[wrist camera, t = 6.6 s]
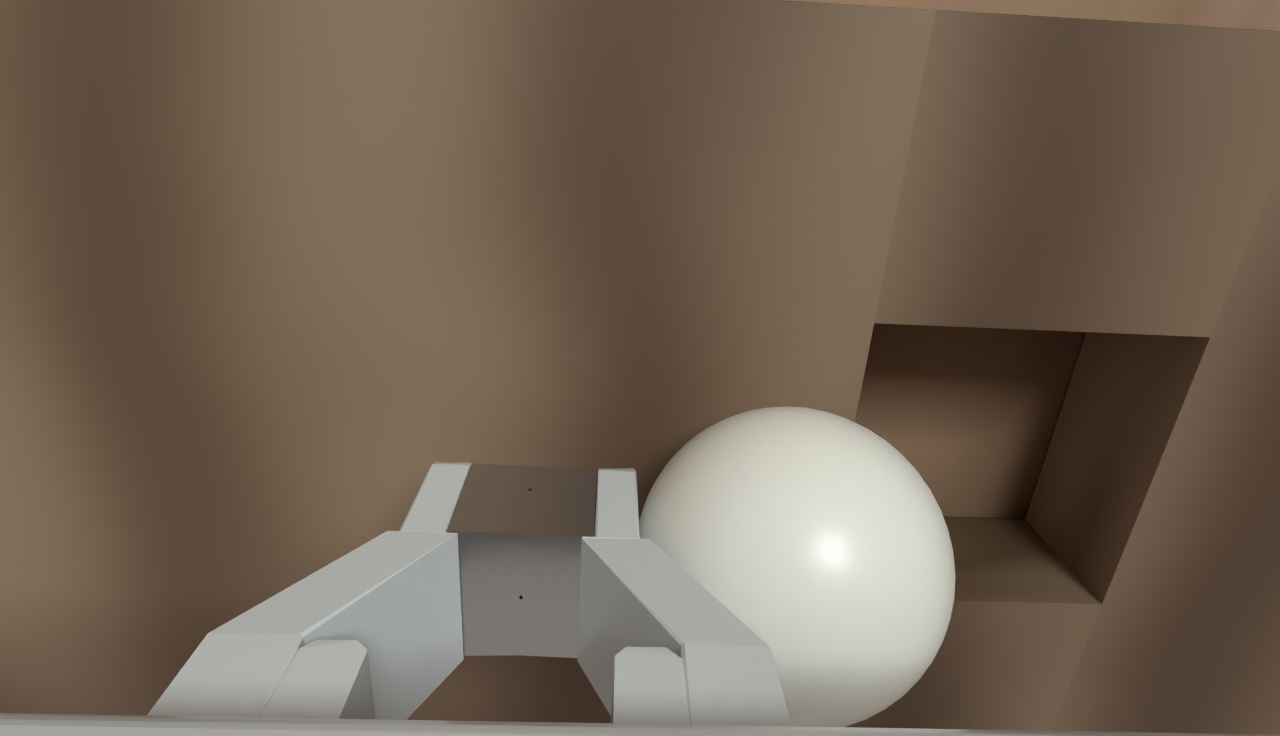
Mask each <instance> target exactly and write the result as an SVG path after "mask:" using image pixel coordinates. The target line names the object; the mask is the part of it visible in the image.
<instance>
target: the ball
mask: <svg viewBox="0 0 1280 736" xmlns="http://www.w3.org/2000/svg"><path fill="white" fill-rule="evenodd" d="M639 534H640V539H651V540H652V541H653V542H654V543H655V544H657V545H658V546H659V547H660V548H661V549H662V550H663V551H664V552H665V553H666V554H668V555H669V556H670V557H671V558H672V559H673V560H674V561H675V562H676V563H678V564H679V565H680V566H681V567H682V568H683V569H684V570H685V571H686V572H688V573H689V574H690V575H691V576H692V577H693V578H694V579H695V580H696V581H697V582H699V583H700V584H701V585H702V586H703V587H704V588H705V589H706V590H707V591H709V592H710V593H711V594H712V595H713V596H714V597H715V598H716V599H717V600H718V601H720V602H721V603H722V604H723V605H724V606H725V607H726V608H727V609H728V610H730V611H731V612H732V613H733V614H734V615H735V616H736V617H737V618H738V619H740V620H741V621H742V622H743V623H744V624H745V625H746V626H747V627H748V628H749V629H751V630H752V631H753V632H754V633H755V634H756V635H757V636H758V637H759V638H761V639H762V640H763V641H764V642H765V643H766V644H767V645H768V646H769V647H771V651H772V655H773V658H774V662H775V666H776V669H777V673H778V677H779V680H780V684H781V688H782V691H783V695H784V699H785V702H786V706H787V710H788V714H789V717H790V721H791V725H792V726H801V727H846V726H849V725H852V724H854V723H857V722H860V721H863V720H866V719H868V718H869V717H871V716H873V715H875V714H877V713H879V712H881V711H883V710H885V709H886V708H888V707H889V706H890V705H892V704H893V703H894V702H896V701H897V700H898V699H900V698H901V697H903V696H904V695H905V694H906V693H907V692H908V691H909V690H910V689H911V688H912V687H913V686H914V685H915V684H916V683H917V682H918V681H919V679H920V678H921V677H922V675H923V674H924V673H925V671H926V670H927V668H928V667H929V666H930V664H931V663H932V662H933V660H934V658H935V656H936V654H937V652H938V650H939V648H940V646H941V644H942V642H943V640H944V637H945V634H946V631H947V628H948V625H949V622H950V618H951V613H952V608H953V603H954V596H955V577H956V575H955V564H954V553H953V548H952V544H951V540H950V535H949V531H948V528H947V525H946V523H945V520H944V517H943V515H942V512H941V509H940V507H939V505H938V503H937V502H936V500H935V498H934V496H933V494H932V492H931V490H930V489H929V487H928V486H927V484H926V483H925V481H924V480H923V479H922V477H921V476H920V474H919V473H918V471H917V470H916V469H915V468H914V467H913V466H912V465H911V464H910V463H909V461H908V460H907V459H906V458H905V457H904V456H903V455H902V454H901V453H900V452H899V451H897V450H896V449H895V448H894V447H893V446H892V445H890V444H889V443H888V442H887V441H886V440H884V439H883V438H881V437H880V436H878V435H877V434H875V433H874V432H872V431H870V430H869V429H867V428H865V427H863V426H861V425H859V424H857V423H855V422H853V421H851V420H849V419H847V418H844V417H841V416H838V415H835V414H832V413H829V412H826V411H821V410H816V409H811V408H804V407H790V406H783V407H768V408H761V409H756V410H751V411H746V412H742V413H740V414H737V415H734V416H731V417H728V418H726V419H724V420H722V421H720V422H718V423H716V424H714V425H712V426H710V427H708V428H706V429H705V430H703V431H702V432H701V433H699V434H698V435H696V436H695V437H694V438H692V439H691V440H690V441H688V442H687V443H686V444H685V445H684V446H683V447H682V448H681V449H680V450H679V451H678V452H677V453H676V454H675V455H674V456H673V457H672V458H671V459H670V461H669V462H668V463H667V464H666V466H665V467H664V469H663V470H662V472H661V473H660V475H659V476H658V478H657V479H656V481H655V483H654V484H653V486H652V488H651V490H650V492H649V494H648V497H647V499H646V502H645V504H644V507H643V510H642V513H641V517H640V520H639Z"/></svg>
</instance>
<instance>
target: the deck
mask: <svg viewBox="0 0 1280 736" xmlns="http://www.w3.org/2000/svg"><path fill="white" fill-rule="evenodd" d="M874 323H880V324H904V325H928V326H952V327H976V328H1000V329H1024V330H1048V331H1072V332H1086V335H1085V338H1084V341H1083V344H1082V347H1081V350H1080V353H1079V356H1078V359H1077V362H1076V365H1075V368H1074V371H1073V374H1072V378H1071V381H1070V384H1069V387H1068V390H1067V393H1066V396H1065V399H1064V402H1063V405H1062V408H1061V411H1060V414H1059V417H1058V420H1057V423H1056V426H1055V429H1054V432H1053V435H1052V438H1051V442H1050V445H1049V448H1048V451H1047V454H1046V457H1045V460H1044V463H1043V466H1042V469H1041V472H1040V475H1039V478H1038V481H1037V484H1036V487H1035V490H1034V493H1033V496H1032V499H1031V503H1030V506H1029V509H1028V512H1027V515H1026V518H1025V519H1006V518H972V517H944V520H945V523H946V525H947V528H948V531H949V535H950V540H951V544H952V548H953V553H954V564H955V575H956V577H955V596H954V603H953V608H952V613H951V618H950V622H949V625H948V628H947V631H946V634H945V637H944V640H943V642H942V644H941V646H940V648H939V650H938V652H937V654H936V656H935V658H934V660H933V662H932V663H931V664H930V666H929V667H928V668H927V670H926V671H925V673H924V674H923V675H922V677H921V678H920V679H919V681H918V682H917V683H916V684H915V685H914V686H913V687H912V688H911V689H910V690H909V691H908V692H907V693H906V694H905V695H904V696H903V697H901V698H900V699H898V700H897V701H896V702H894V703H893V704H892V705H890V706H889V707H888V708H886V709H885V710H883V711H881V712H879V713H877V714H875V715H873V716H871V717H869V718H868V719H866V720H863V721H860V722H857V723H854V724H852V725H849V726H846V727H859V728H917V729H983V730H1042V731H1101V732H1160V733H1219V734H1278V735H1280V31H1272V30H1256V29H1239V28H1223V27H1207V26H1190V25H1174V24H1158V23H1142V22H1125V21H1109V20H1093V19H1076V18H1060V17H1044V16H1028V15H1011V14H995V13H979V12H962V11H946V10H930V9H913V8H897V7H881V6H865V5H848V4H832V3H816V2H799V1H783V0H0V713H37V714H95V715H147V714H148V713H149V712H150V710H151V709H152V708H153V706H154V705H155V704H156V702H157V701H158V700H159V698H160V697H161V696H162V694H163V693H164V692H165V690H166V689H167V688H168V686H169V685H170V684H171V682H172V681H173V680H174V678H175V677H176V675H177V674H178V673H179V671H180V670H181V669H182V667H183V666H184V665H185V663H186V662H187V661H188V659H189V658H190V657H191V655H192V654H193V653H194V651H195V650H196V649H197V647H198V646H199V645H200V643H201V642H202V641H203V639H204V638H205V636H206V635H207V634H208V633H209V632H211V631H213V630H215V629H216V628H218V627H220V626H222V625H223V624H225V623H227V622H229V621H230V620H232V619H234V618H236V617H237V616H239V615H241V614H243V613H244V612H246V611H248V610H250V609H251V608H253V607H255V606H257V605H258V604H260V603H262V602H264V601H265V600H267V599H269V598H271V597H272V596H274V595H276V594H278V593H279V592H281V591H283V590H285V589H286V588H288V587H290V586H292V585H293V584H295V583H297V582H299V581H300V580H302V579H304V578H306V577H307V576H309V575H311V574H313V573H314V572H316V571H318V570H320V569H321V568H323V567H325V566H327V565H328V564H330V563H332V562H334V561H335V560H337V559H339V558H341V557H342V556H344V555H346V554H348V553H349V552H351V551H353V550H355V549H356V548H358V547H360V546H362V545H363V544H365V543H367V542H369V541H370V540H372V539H374V538H376V537H377V536H379V535H381V534H383V533H384V532H386V531H399V530H400V528H401V526H402V524H403V522H404V520H405V518H406V515H407V513H408V511H409V509H410V507H411V505H412V503H413V501H414V499H415V497H416V495H417V493H418V491H419V489H420V487H421V485H422V483H423V480H424V478H425V476H426V474H427V472H428V470H429V468H430V466H431V465H432V464H433V463H436V462H470V463H472V464H474V463H479V464H496V465H514V466H532V467H546V468H597V477H598V469H599V468H634V469H635V471H636V477H637V496H638V515H639V520H640V517H641V513H642V510H643V507H644V504H645V502H646V499H647V497H648V494H649V492H650V490H651V488H652V486H653V484H654V483H655V481H656V479H657V478H658V476H659V475H660V473H661V472H662V470H663V469H664V467H665V466H666V464H667V463H668V462H669V461H670V459H671V458H672V457H673V456H674V455H675V454H676V453H677V452H678V451H679V450H680V449H681V448H682V447H683V446H684V445H685V444H686V443H687V442H688V441H690V440H691V439H692V438H694V437H695V436H696V435H698V434H699V433H701V432H702V431H703V430H705V429H706V428H708V427H710V426H712V425H714V424H716V423H718V422H720V421H722V420H724V419H726V418H728V417H731V416H734V415H737V414H740V413H742V412H746V411H751V410H756V409H761V408H768V407H783V406H790V407H804V408H811V409H816V410H821V411H826V412H829V413H832V414H835V415H838V416H841V417H844V418H847V419H849V420H851V421H853V422H855V419H856V413H857V408H858V403H859V398H860V393H861V388H862V383H863V378H864V373H865V368H866V363H867V358H868V353H869V348H870V343H871V337H872V332H873V327H874ZM596 498H597V494H596ZM595 520H596V518H595ZM407 720H442V721H500V722H567V723H610V722H611V716H610V714H609V712H608V711H607V709H606V707H605V706H604V704H603V702H602V701H601V699H600V697H599V696H598V694H597V692H596V691H595V689H594V688H593V686H592V684H591V683H590V681H589V679H588V678H587V676H586V674H585V673H584V671H583V669H582V668H581V666H580V664H579V663H578V658H564V657H544V656H524V655H493V656H464V660H463V661H462V662H461V663H460V664H459V665H458V666H457V667H456V668H455V669H454V670H453V671H452V672H451V673H450V674H449V676H448V677H447V678H446V679H445V680H444V681H443V682H442V683H441V684H440V685H439V686H438V687H437V688H436V689H435V690H434V691H433V692H432V693H431V694H430V696H429V697H428V698H427V699H426V700H425V701H424V702H423V703H422V704H421V705H420V706H419V707H418V708H417V709H416V710H415V711H414V712H413V713H412V714H411V716H410V717H409V718H408V719H407Z"/></svg>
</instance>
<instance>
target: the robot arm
mask: <svg viewBox="0 0 1280 736" xmlns="http://www.w3.org/2000/svg"><path fill="white" fill-rule="evenodd" d="M596 494H597V498H596ZM595 518H596V520H595ZM493 655H524V656H544V657H564V658H578V663H579V664H580V666H581V668H582V669H583V671H584V673H585V674H586V676H587V678H588V679H589V681H590V683H591V684H592V686H593V688H594V689H595V691H596V692H597V694H598V696H599V697H600V699H601V701H602V702H603V704H604V706H605V707H606V709H607V711H608V712H609V714H610V716H611V722H610V723H567V722H500V721H442V720H407V719H408V718H409V717H410V716H411V714H412V713H413V712H414V711H415V710H416V709H417V708H418V707H419V706H420V705H421V704H422V703H423V702H424V701H425V700H426V699H427V698H428V697H429V696H430V694H431V693H432V692H433V691H434V690H435V689H436V688H437V687H438V686H439V685H440V684H441V683H442V682H443V681H444V680H445V679H446V678H447V677H448V676H449V674H450V673H451V672H452V671H453V670H454V669H455V668H456V667H457V666H458V665H459V664H460V663H461V662H462V661H463V660H464V656H493ZM0 736H1280V735H1278V734H1219V733H1160V732H1101V731H1042V730H983V729H917V728H859V727H801V726H792V725H791V721H790V717H789V714H788V710H787V706H786V702H785V699H784V695H783V691H782V688H781V684H780V680H779V677H778V673H777V669H776V666H775V662H774V658H773V655H772V651H771V647H769V646H768V645H767V644H766V643H765V642H764V641H763V640H762V639H761V638H759V637H758V636H757V635H756V634H755V633H754V632H753V631H752V630H751V629H749V628H748V627H747V626H746V625H745V624H744V623H743V622H742V621H741V620H740V619H738V618H737V617H736V616H735V615H734V614H733V613H732V612H731V611H730V610H728V609H727V608H726V607H725V606H724V605H723V604H722V603H721V602H720V601H718V600H717V599H716V598H715V597H714V596H713V595H712V594H711V593H710V592H709V591H707V590H706V589H705V588H704V587H703V586H702V585H701V584H700V583H699V582H697V581H696V580H695V579H694V578H693V577H692V576H691V575H690V574H689V573H688V572H686V571H685V570H684V569H683V568H682V567H681V566H680V565H679V564H678V563H676V562H675V561H674V560H673V559H672V558H671V557H670V556H669V555H668V554H666V553H665V552H664V551H663V550H662V549H661V548H660V547H659V546H658V545H657V544H655V543H654V542H653V541H652V540H651V539H640V534H639V515H638V496H637V477H636V471H635V469H634V468H599V469H598V477H597V468H546V467H532V466H514V465H496V464H479V463H474V464H472V463H470V462H436V463H433V464H432V465H431V466H430V468H429V470H428V472H427V474H426V476H425V478H424V480H423V483H422V485H421V487H420V489H419V491H418V493H417V495H416V497H415V499H414V501H413V503H412V505H411V507H410V509H409V511H408V513H407V515H406V518H405V520H404V522H403V524H402V526H401V528H400V530H399V531H386V532H384V533H383V534H381V535H379V536H377V537H376V538H374V539H372V540H370V541H369V542H367V543H365V544H363V545H362V546H360V547H358V548H356V549H355V550H353V551H351V552H349V553H348V554H346V555H344V556H342V557H341V558H339V559H337V560H335V561H334V562H332V563H330V564H328V565H327V566H325V567H323V568H321V569H320V570H318V571H316V572H314V573H313V574H311V575H309V576H307V577H306V578H304V579H302V580H300V581H299V582H297V583H295V584H293V585H292V586H290V587H288V588H286V589H285V590H283V591H281V592H279V593H278V594H276V595H274V596H272V597H271V598H269V599H267V600H265V601H264V602H262V603H260V604H258V605H257V606H255V607H253V608H251V609H250V610H248V611H246V612H244V613H243V614H241V615H239V616H237V617H236V618H234V619H232V620H230V621H229V622H227V623H225V624H223V625H222V626H220V627H218V628H216V629H215V630H213V631H211V632H209V633H208V634H207V635H206V636H205V638H204V639H203V641H202V642H201V643H200V645H199V646H198V647H197V649H196V650H195V651H194V653H193V654H192V655H191V657H190V658H189V659H188V661H187V662H186V663H185V665H184V666H183V667H182V669H181V670H180V671H179V673H178V674H177V675H176V677H175V678H174V680H173V681H172V682H171V684H170V685H169V686H168V688H167V689H166V690H165V692H164V693H163V694H162V696H161V697H160V698H159V700H158V701H157V702H156V704H155V705H154V706H153V708H152V709H151V710H150V712H149V713H148V714H147V715H95V714H37V713H0Z"/></svg>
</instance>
